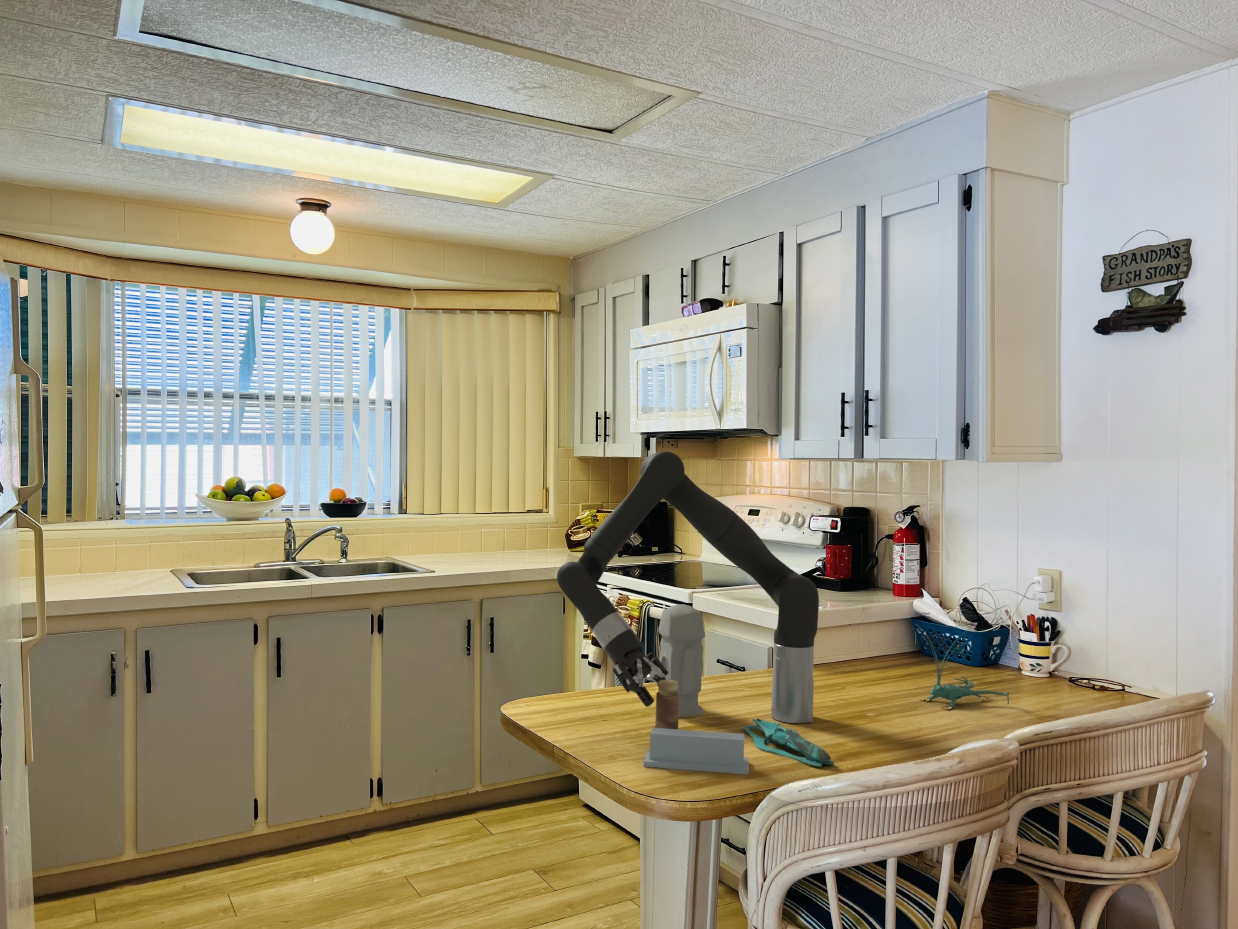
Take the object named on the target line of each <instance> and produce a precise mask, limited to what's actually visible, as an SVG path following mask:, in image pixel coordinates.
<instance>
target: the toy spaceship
mask: <svg viewBox="0 0 1238 929" xmlns="http://www.w3.org/2000/svg"><path fill="white" fill-rule="evenodd" d="M751 721H752V722H753V723H755V724H756V725H753V724H750V725H744V726H743V727H742V728H743V730H744V731H745V732H747V734H749V736H750V737H751V738H752V740H753V742H754V745H755V747H756V748H757V749H758V750H761V751H762V752H765V751H766V753H769V752H771V753H770V754H773V753H774V754H773V755H777V754H778V756H780V755H781V756H780V757H784V756H786V757H785V758H787V757H789V758H788V759H790V758H791V760H793V759H794V760H793V761H795V760H797V761H796V762H798V761H799V762H798V763H801V764H803V765H806V766H811V767H823V765H834V764H835V762H834V761H832V757H831V756H830V755H829V753H828V752H827V751H826V750H825V749H823V748H822V747H820V746H819V745H817V744H815V743H813V742H811V741H809V740H807V739H806V738H804V737H803V736H801V734H800V733H798V731H796V730H794V729H790V728H786V727H783V726H782V725H781V723H779V722H776V721H774V722H771V721H768V720H763V719H761V718H758V717H757V718H756V719H755V718H753V719H751ZM752 729H753V730H758V731H761V732H763V733H764V735H765V737H762V736H759V735H758V734H757V733H756V732H754V731H752ZM768 743H772V744H771V745H775V744H776V745H777V746H779V745H780V746H781V747H783V748H785V749H788V750H793V751H796V752H797V753H801V754H803V755H804V756H805V757H802V756H797V755H794V754H791V753H789V752H787V751H785V750H783V749H777V748H773V747H770V746H767V745H766V744H768ZM776 745H775V746H776Z"/></svg>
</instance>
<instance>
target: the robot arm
mask: <svg viewBox="0 0 1238 929" xmlns="http://www.w3.org/2000/svg"><path fill="white" fill-rule="evenodd" d="M662 500H664V501H665V502H666V503H668V504H670V506H672V507H673V508H674V509H675V510H677V511H678V512H679V513H680V514H681V515H682V516H683V517H684V518H685V519H686V520H687V522H688V523H689V524H690V525H691V526H692V527H693V528H694V529H695V530H696V531H697V533H699V534H700V535H701V536H702V537H703V539H704V540H706V542H708V543H709V544H710V546H712V547H713V548H714V549H716V551H718V553H720V554H721V555H722V556H723V557H724V558H726V559H727V560H728V561H729V562H731V563H732V564H733V565H734V566H736V567H737V568H739V569H740V570H741V571H743V572H745V573H746V574H748V576H750V577H751V578H752V579H753V580H754V581H755V582H756V583H757V584H758V585H759V586H760V587H761V588H762V589H763V590H764V592H765V593H766V594H767V596H769V597H770V598H771V600H772V601H773V602H774V604H776V606H777V607H778V614H777V615H778V616H777V617H778V618H777V626H776V628H775V630H774V632H773V651H772V652H773V653H772V655H773V656H772V657H773V658H772V684H771V710H770V712H771V714H770V715H771V718H772V719H774V720H775V721H779V722H783V723H790V724H803V723H805V724H806V723H813V721H814V720H813V719H814V718H813V716H814V692H815V690H814V689H815V688H814V687H815V686H814V684H815V681H814V660H815V659H814V656H815V638H816V635H817V633H818V627H819V626H818V624H819V623H818V622H819V609H820V608H819V606H820V596H819V591H818V588H817V586H816V585H815V582H813V581H812V580H811V579H810V578H807V577H805V576H803V575H801V574H799V573H797V572H796V571H794V570H793V569H792V568H790V567H789V566H788V565H786V564H785V563H784V562H782V561H781V560H780V559H779V558H777V556H775V555H774V554H773V553H772V551H771V550H770V549H769V548H768V547H767V545H766V544H765V543H764V542H763V540H762V538H761V537H760V536H759V534H758V533H756V531H755V530H754V529H753V528H752V527H751V526H750V525H749V524H748V523H747V522H746V521H745V520H744V519H743V518H742V517H740V516H739V515H738V514H737V512H735V511H734V510H732V508H730V507H728V505H726V504H724V503H723V502H721V501H719V499H717V498H715V497H714V496H711V495H710V494H708V493H707V492H705V491H704V490H702V489H701V488H700V487H699V486H698V485H697V484H695V483H694V482H693V480H692V479H690V477H688V475H687V474H686V473H685V465H684V462H683V460H682V459H681V457H680V456H679V455H678V454H677V453H674V452H672V451H666V450H664V451H663V450H662V451H661V450H660V451H657V452H654V453H652V454H651V455H648V456H647V457H646V458H645V459H643V461H642V464H641V466H640V476H639V479H638V481H636V484H635V485H634V486H633V488H632V489H631V491H630V492H629V493H628V494H627V496H626V497H625V498H624V499H623V500H622V501H621V502H620V503H619V504H618V505H617V506H616V507H615V508H614V509H613V511H611V512H610V513H609V514H608V515H607V517H605V519H604V520H603V521H602V522H601V523H600V524H599V526H598V527H597V528H596V529H595V531H593V533H592V534H591V535H590V536H589V538H588V539H587V540H586V542H585V543H584V546H583V553H582V555H581V556H579V559H578V560H577V561H567V562H565V563H563V564H562V565H561V566H560V567H559V569H558V570H557V573H556V574H557V575H556V580H557V584H558V587H559V588H560V589H561V591H562V593H564V595H565V596H566V597H567V599H569V601H570V602H571V603H572V605H573V606H574V608H576V610H578V612H579V613H580V614H581V616H582V618H583V620H584V621H585V622H586V624H587V625H588V628H590V630H591V632H592V633H593V635H594V636H595V639H596V640H597V642H598V643H599V645H600V646H601V648H602V650H604V652H605V653H606V655H607V657H608V658H609V659H610V660H611V662H612V663H613V665H614V668H612V672H613V673H614V675H615V676H616V678H617V679H618V681H619V682H620V684H621V686H622V688H624V690H625V692H627V693H630V692H632V693H633V694H636V695H637V697H638V699H639V700H640V701H641V702H642V704H643V706H645V707H646V708H647V707H648V708H649V707H650V706H651V705H652V704H653V703H655V699H654V698H653V696H652V695H651V693H650V692H649V691H648V689H647V688H646V686H644V683H643V679H646V680H647V681H652V682H653V683H655V684H656V685H657V688H659V681H660V680H666V675H667V674H668V671H667V670H666V668H665V667H664V666H663V664H662V663H661V662H660V658H659V657H657V655H656V654H655V653H654V652H652V651H651V652H650V653H648V654H647V655H646V654H645V653H643V650H642V649H643V647H644V645H643V644H644V643H643V642H642V641H641V639H640V638H639V637H638V636H637V634H636V633H635V631H634V629H633V628H632V627H631V625H630V624H629V623H628V621H627V620H626V619H625V618H624V617H623V616H622V615H621V614H620V613H619V611H618V610H617V608H616V607H615V606H614V605H613V603H612V601H611V600H610V599H609V598H608V597H607V596H606V594H604V593H603V592H602V591H601V589H600V588H599V586H598V585H597V584H598V582H599V581H600V579H601V578H602V575H603V574H604V572H605V571H606V568H607V567H608V564H609V563H610V562H611V561H612V560H613V559H614V557H615V556H616V555H617V554H618V553H619V552H620V551H621V549H622V547H623V546H624V545H625V544H626V543H627V541H628V540H629V538H630V537H631V536H632V534H633V533H634V532H635V531H636V529H637V528H638V527H639V526H640V524H641V523H642V522H643V520H644V519H645V518H646V517H647V516H648V515H649V513H650V512H651V511H653V509H655V507H656V506H657V505H658V504H659V503H660V502H661V501H662ZM659 668H660V669H661V671H662V672H661V671H659ZM627 682H628V683H627Z"/></svg>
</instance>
